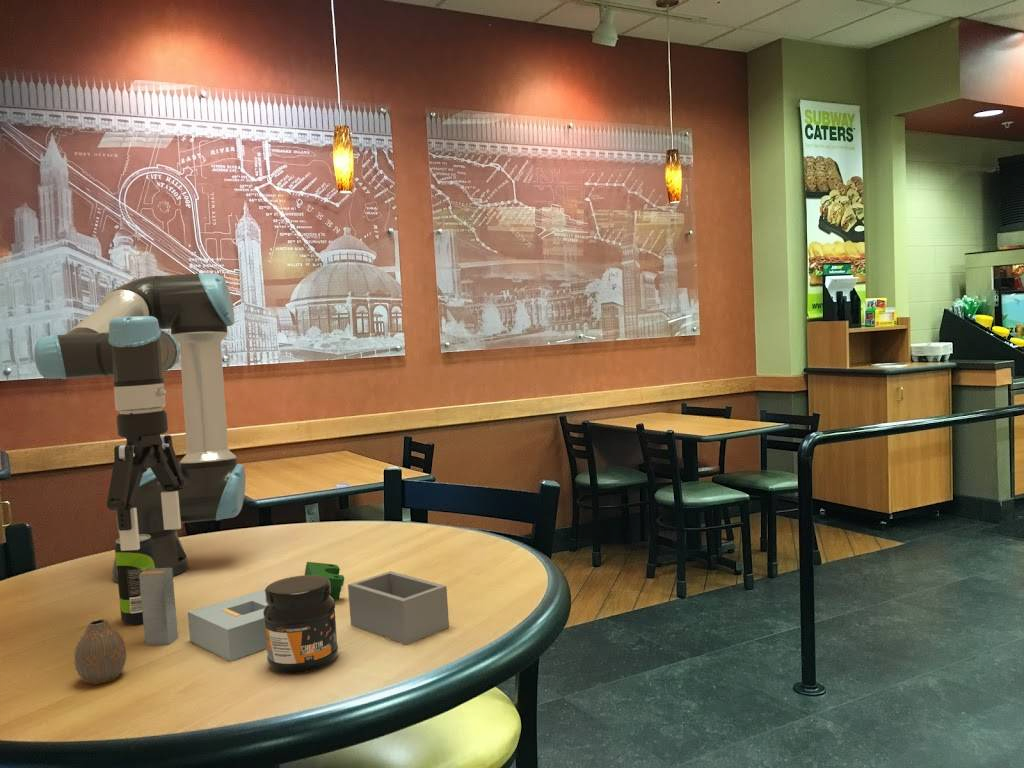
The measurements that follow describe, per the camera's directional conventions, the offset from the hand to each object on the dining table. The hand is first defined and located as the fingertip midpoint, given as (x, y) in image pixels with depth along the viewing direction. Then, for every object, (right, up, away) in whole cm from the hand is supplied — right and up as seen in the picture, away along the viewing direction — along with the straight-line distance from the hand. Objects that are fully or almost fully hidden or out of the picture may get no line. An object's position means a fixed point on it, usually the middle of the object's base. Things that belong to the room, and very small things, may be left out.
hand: (152, 539), depth 134 cm
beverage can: (-8, -17, +13) cm, 23 cm away
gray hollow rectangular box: (+40, -15, +2) cm, 43 cm away
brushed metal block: (+1, -17, +1) cm, 17 cm away
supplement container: (+28, -17, -11) cm, 34 cm away
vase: (-2, -19, -13) cm, 23 cm away
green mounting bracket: (+24, -15, +20) cm, 34 cm away
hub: (+16, -17, +1) cm, 23 cm away
